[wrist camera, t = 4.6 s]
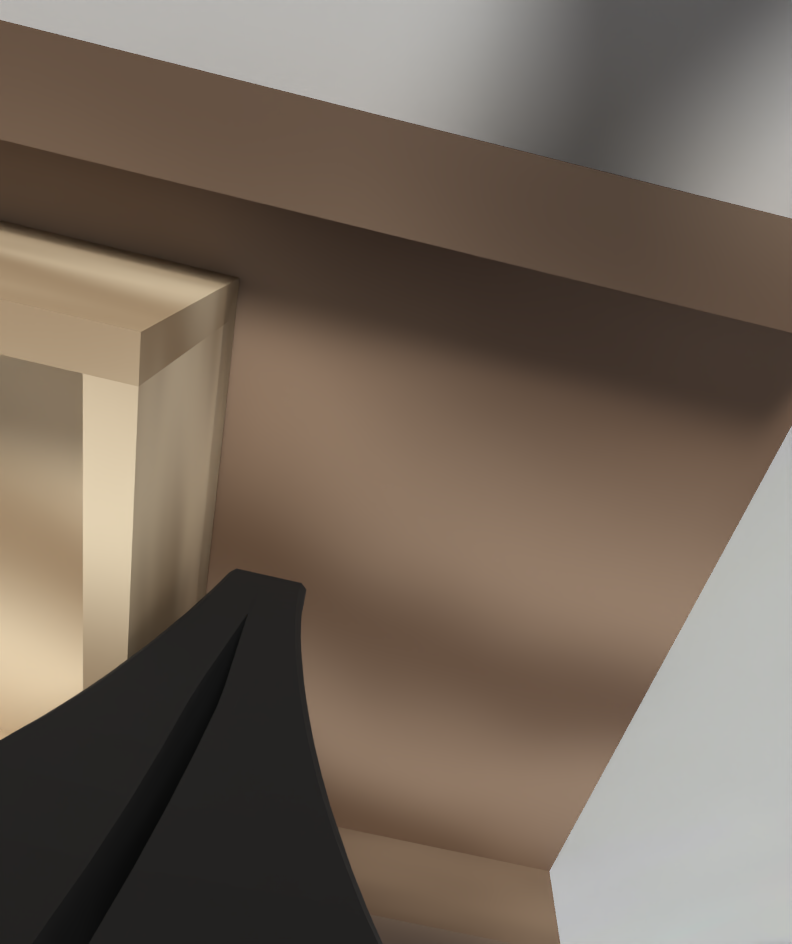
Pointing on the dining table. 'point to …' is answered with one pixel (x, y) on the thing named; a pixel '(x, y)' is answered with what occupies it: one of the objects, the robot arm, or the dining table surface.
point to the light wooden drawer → (102, 456)
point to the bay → (439, 435)
